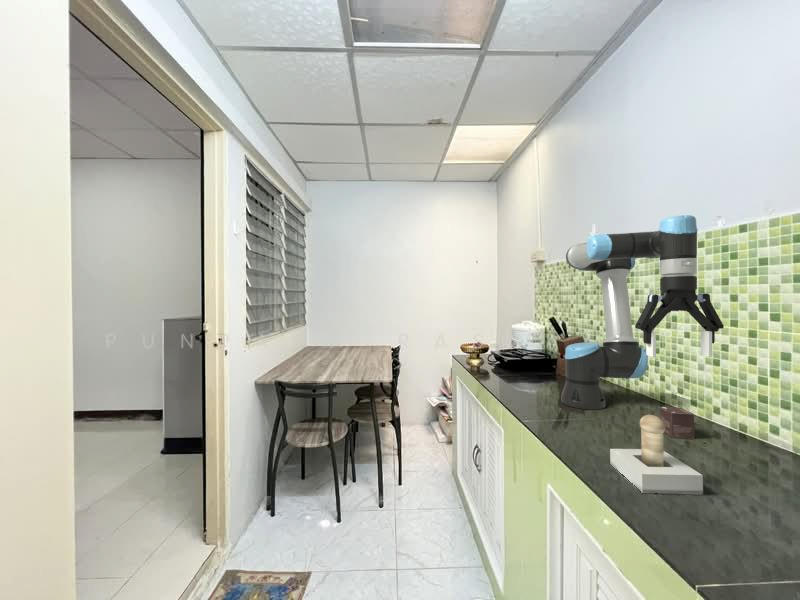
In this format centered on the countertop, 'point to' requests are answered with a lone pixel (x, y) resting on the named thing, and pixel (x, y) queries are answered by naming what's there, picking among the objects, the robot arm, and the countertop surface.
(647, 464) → the pestle
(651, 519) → the countertop surface
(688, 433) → the box
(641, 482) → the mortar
